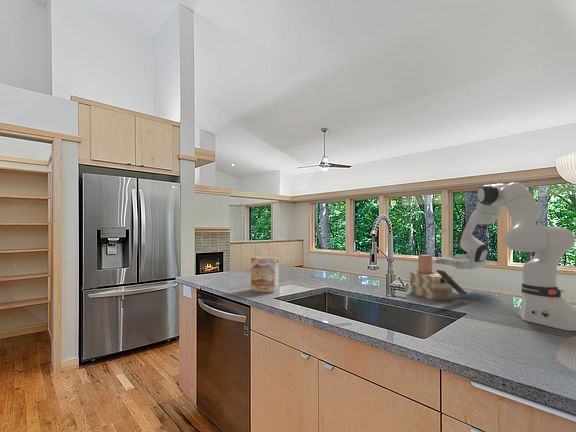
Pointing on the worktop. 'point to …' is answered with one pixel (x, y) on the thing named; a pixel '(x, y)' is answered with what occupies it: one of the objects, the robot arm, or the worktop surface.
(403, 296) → the worktop surface
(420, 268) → the reddish pink block
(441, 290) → the beige patterned box
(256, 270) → the coffeecake box
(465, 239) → the robot arm
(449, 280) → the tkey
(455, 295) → the pad
